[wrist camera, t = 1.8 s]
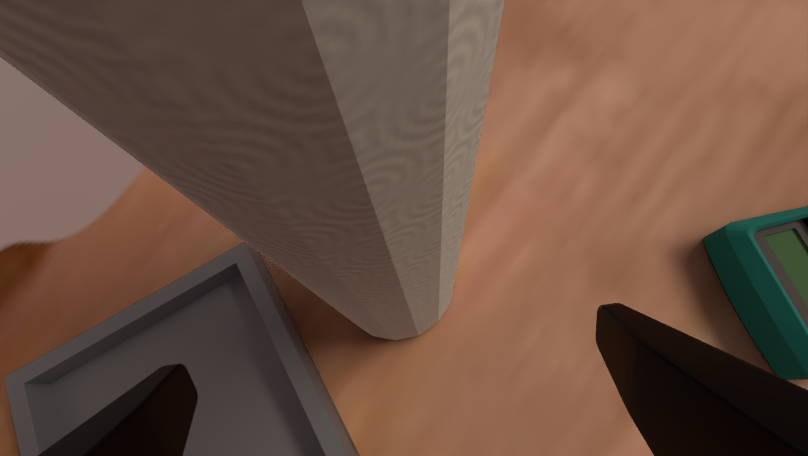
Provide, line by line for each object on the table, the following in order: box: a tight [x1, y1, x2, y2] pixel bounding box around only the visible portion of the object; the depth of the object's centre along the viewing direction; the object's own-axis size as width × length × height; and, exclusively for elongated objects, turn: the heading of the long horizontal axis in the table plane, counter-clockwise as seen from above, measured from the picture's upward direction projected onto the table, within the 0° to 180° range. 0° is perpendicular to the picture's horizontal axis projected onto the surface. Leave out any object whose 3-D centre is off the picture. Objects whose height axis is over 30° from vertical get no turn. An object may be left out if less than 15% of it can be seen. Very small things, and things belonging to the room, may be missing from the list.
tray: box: [4, 242, 359, 456], centre depth 19 cm, size 13×13×2 cm
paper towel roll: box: [0, 0, 504, 341], centre depth 12 cm, size 7×6×21 cm
